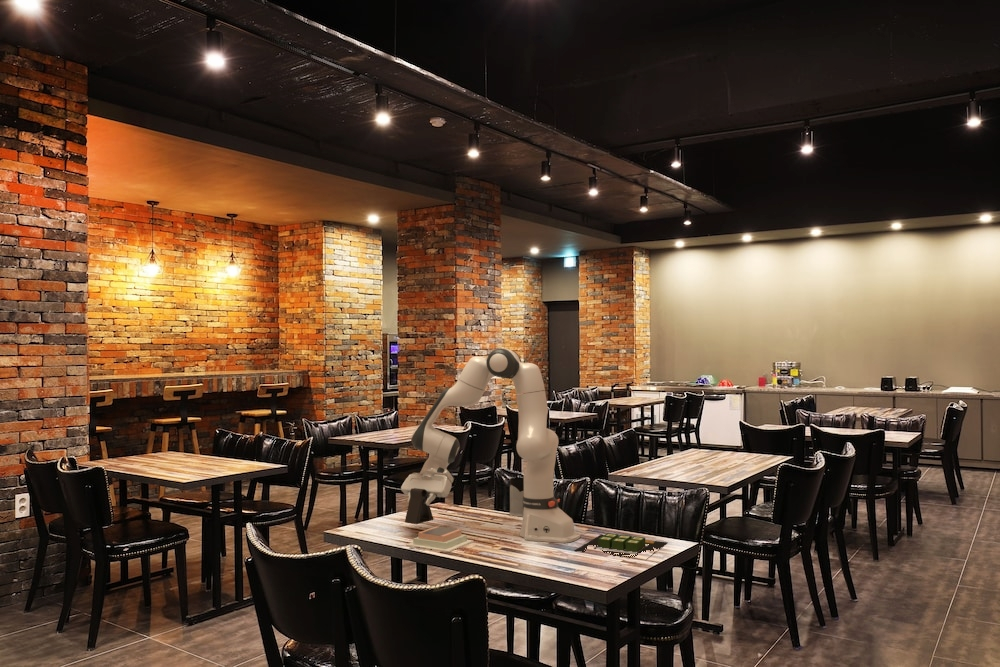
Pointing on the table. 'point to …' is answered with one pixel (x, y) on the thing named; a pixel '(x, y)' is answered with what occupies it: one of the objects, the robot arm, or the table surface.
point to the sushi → (622, 544)
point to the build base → (440, 539)
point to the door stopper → (418, 507)
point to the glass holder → (516, 496)
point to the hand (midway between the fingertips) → (417, 504)
